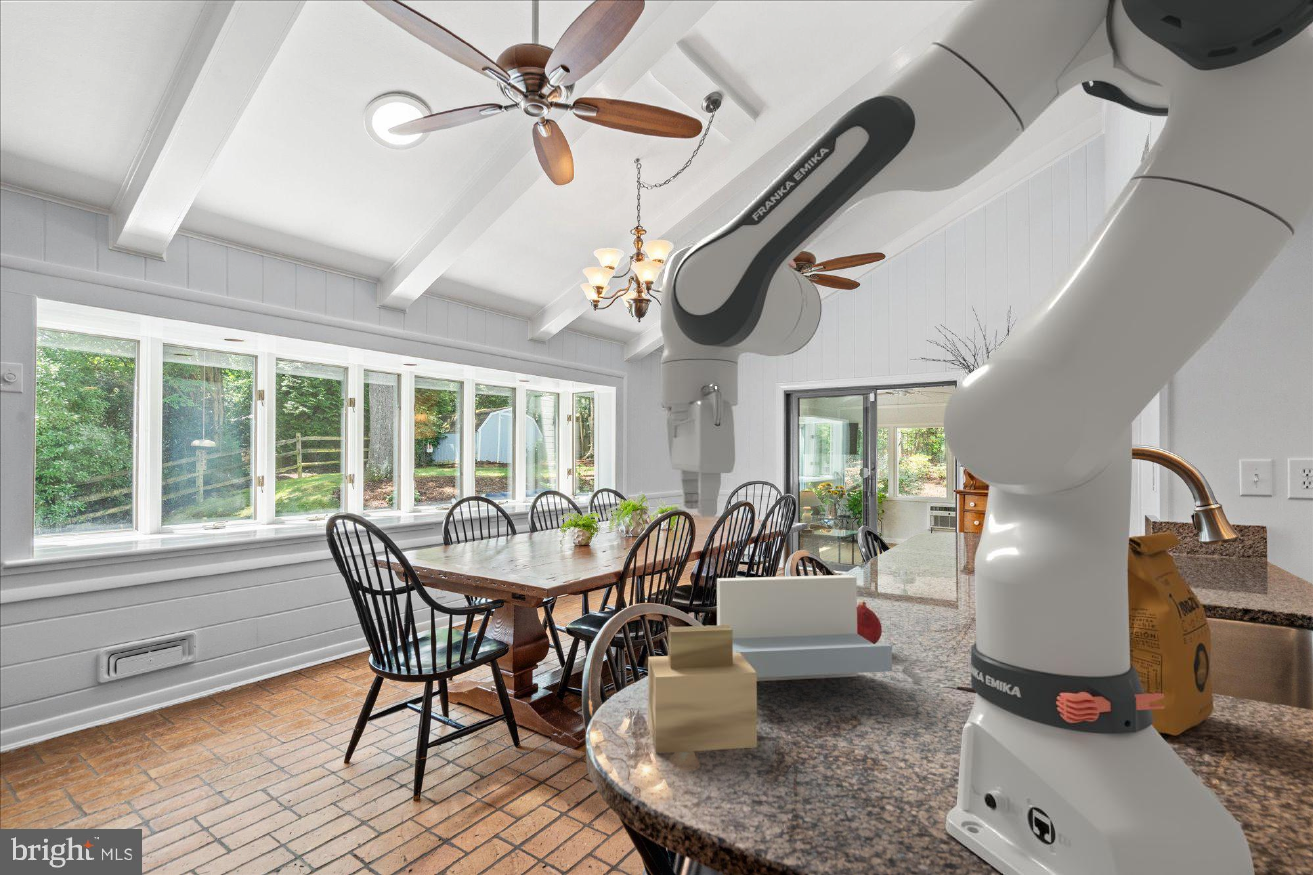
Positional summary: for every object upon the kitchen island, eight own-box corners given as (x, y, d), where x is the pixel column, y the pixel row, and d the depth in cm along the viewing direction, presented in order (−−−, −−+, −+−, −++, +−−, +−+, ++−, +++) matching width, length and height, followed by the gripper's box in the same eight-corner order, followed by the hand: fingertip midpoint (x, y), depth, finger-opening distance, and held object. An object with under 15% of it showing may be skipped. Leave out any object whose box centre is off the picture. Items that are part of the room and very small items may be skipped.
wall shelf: (892, 703, 79) (891, 591, 80) (739, 711, 77) (738, 596, 77) (851, 671, 91) (850, 574, 92) (717, 677, 89) (716, 578, 89)
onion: (884, 658, 97) (883, 606, 98) (846, 655, 99) (845, 604, 99) (879, 647, 103) (878, 598, 103) (842, 645, 104) (842, 596, 105)
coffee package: (1232, 725, 72) (1225, 534, 73) (1179, 749, 66) (1172, 541, 67) (1134, 697, 81) (1129, 526, 82) (1080, 715, 75) (1074, 532, 76)
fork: (1036, 708, 78) (1035, 692, 78) (901, 684, 87) (901, 670, 87) (1036, 701, 81) (1035, 685, 81) (905, 679, 89) (904, 665, 89)
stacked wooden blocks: (757, 747, 67) (756, 635, 68) (655, 754, 66) (655, 638, 66) (740, 721, 74) (739, 619, 75) (648, 726, 73) (648, 622, 73)
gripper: (750, 380, 62) (750, 520, 61) (708, 399, 82) (708, 504, 81) (687, 378, 61) (687, 521, 60) (660, 398, 81) (659, 505, 81)
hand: (698, 511), depth 71 cm, fingers open, 8 cm apart
